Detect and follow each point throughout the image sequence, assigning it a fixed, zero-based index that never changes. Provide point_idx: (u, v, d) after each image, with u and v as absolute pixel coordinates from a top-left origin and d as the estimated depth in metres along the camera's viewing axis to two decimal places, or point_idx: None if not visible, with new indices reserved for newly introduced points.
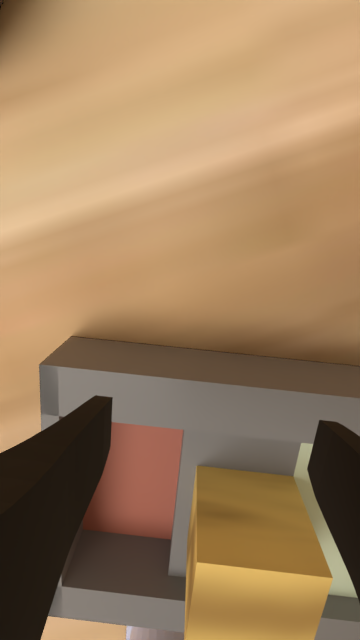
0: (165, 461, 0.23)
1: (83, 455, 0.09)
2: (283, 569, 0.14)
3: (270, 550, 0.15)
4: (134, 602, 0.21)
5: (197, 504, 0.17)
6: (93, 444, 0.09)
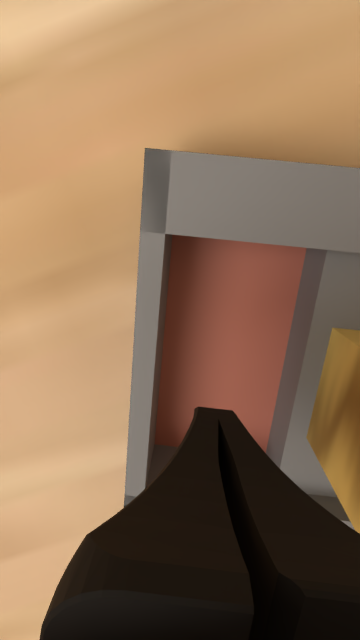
0: (268, 347, 0.18)
1: None
2: None
3: None
4: None
5: None
6: None
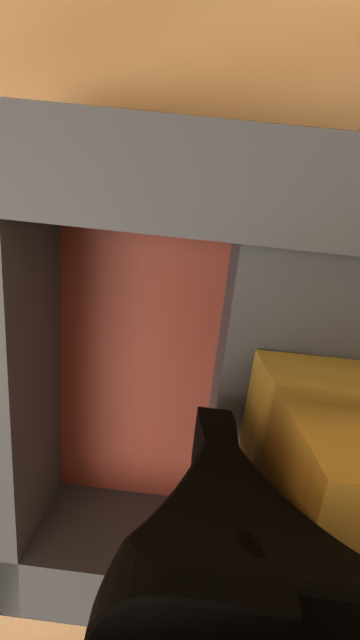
0: (191, 367, 0.15)
1: None
2: None
3: None
4: None
5: (279, 390, 0.08)
6: None
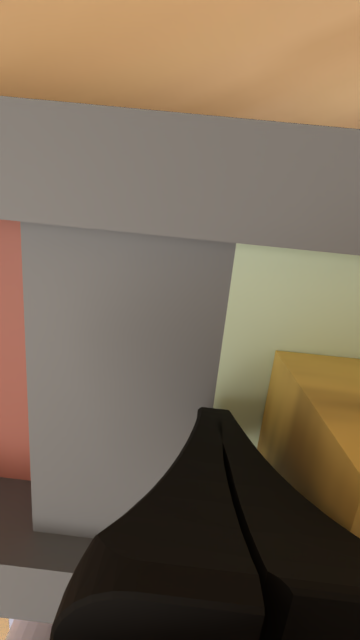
0: None
1: None
2: None
3: None
4: None
5: (304, 392, 0.08)
6: None
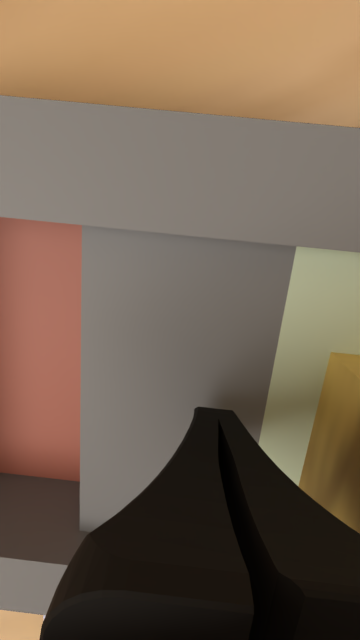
0: (79, 352, 0.15)
1: None
2: None
3: None
4: (15, 571, 0.13)
5: None
6: None
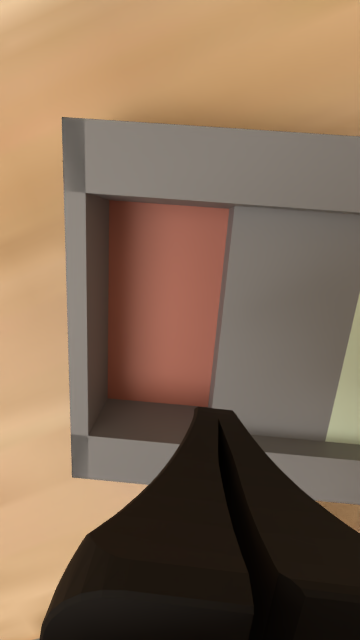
0: (202, 304, 0.20)
1: None
2: None
3: None
4: (173, 454, 0.18)
5: None
6: None
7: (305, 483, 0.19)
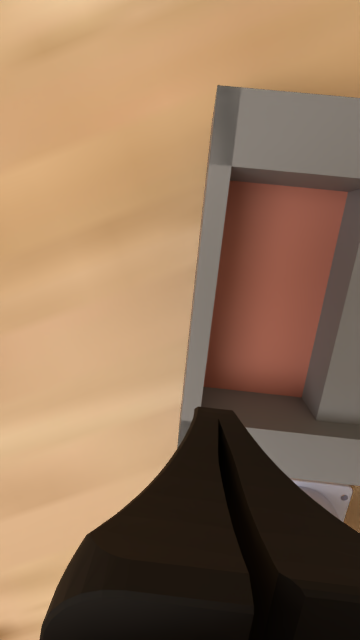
0: (308, 290, 0.20)
1: None
2: None
3: None
4: (285, 442, 0.18)
5: None
6: None
7: None
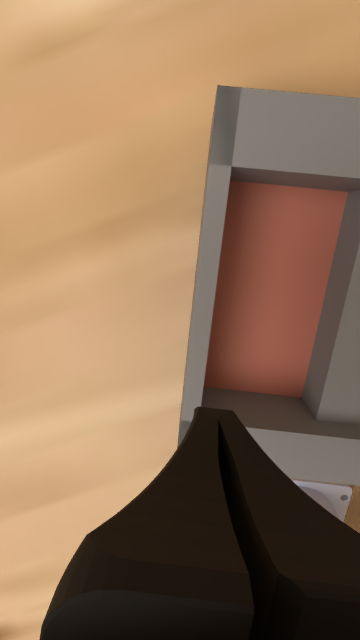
0: (308, 290, 0.20)
1: None
2: None
3: None
4: (285, 442, 0.18)
5: None
6: None
7: None
